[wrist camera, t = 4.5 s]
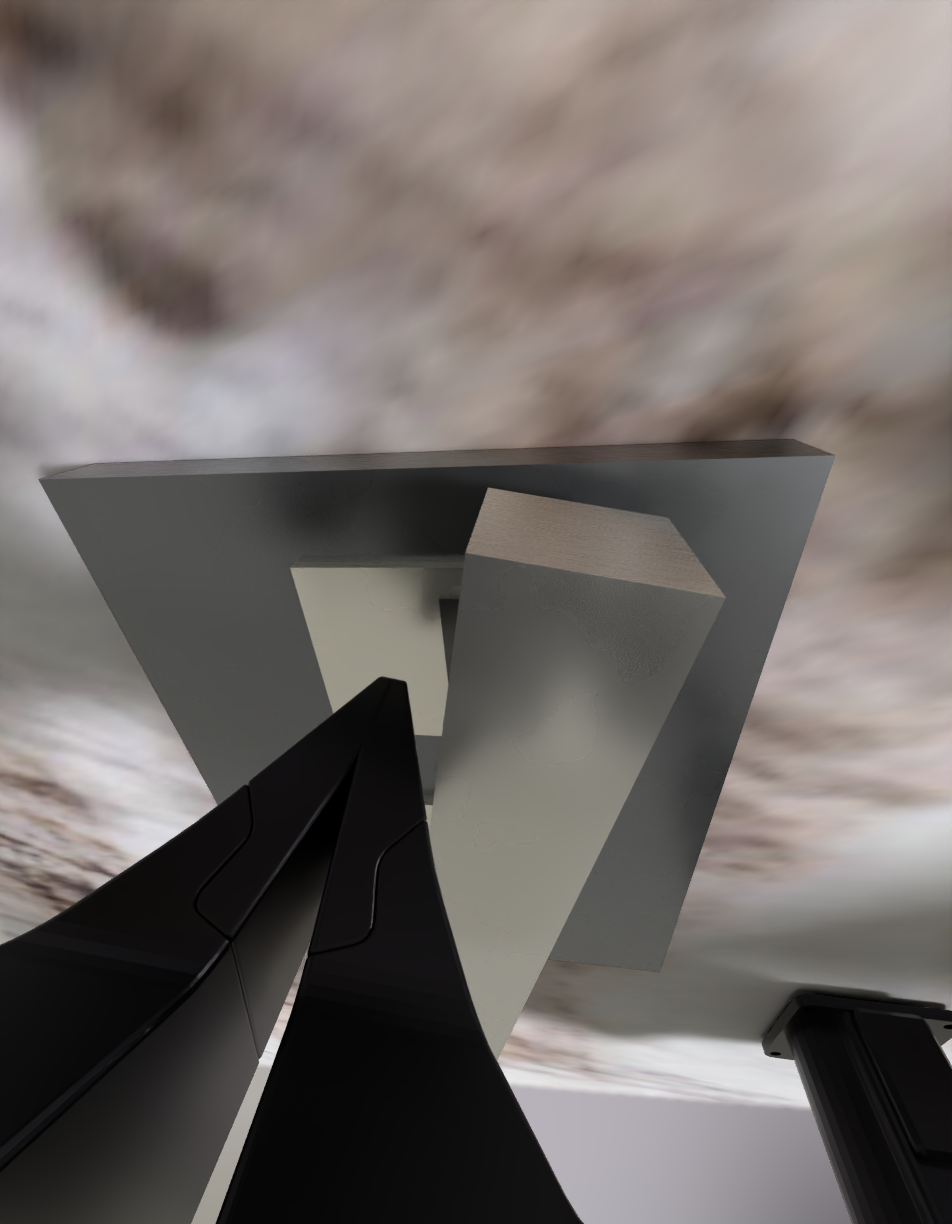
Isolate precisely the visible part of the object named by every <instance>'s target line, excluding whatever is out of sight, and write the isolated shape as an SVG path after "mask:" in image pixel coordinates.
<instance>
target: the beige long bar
mask: <svg viewBox="0 0 952 1224" xmlns="http://www.w3.org/2000/svg"><path fill="white" fill-rule="evenodd" d="M725 599H726V597H725V596H724V594H723V593H722V592H721V590H720V589H719V587H718V586H717V585H716V583H715V582H714V581H713V579H712V578H711V576H710V575H709V574H708V572H707V571H706V569H705V568H704V567H703V565H702V564H701V563H700V561H699V560H698V558H697V557H696V556H695V554H694V553H693V551H692V550H691V549H690V547H689V546H688V545H687V543H686V542H685V540H684V539H683V538H682V536H681V535H680V533H679V532H678V531H677V529H676V528H675V526H674V525H673V524H672V522H671V521H670V520H669V518H667V517H661V516H655V515H649V514H643V513H637V512H631V511H625V510H619V509H613V508H607V507H601V506H595V505H589V504H583V503H577V502H571V501H565V500H559V499H553V498H547V497H541V496H535V495H529V494H523V493H517V492H511V491H505V490H499V489H493V488H488V489H487V492H486V495H485V498H484V501H483V504H482V507H481V509H480V512H479V515H478V518H477V521H476V524H475V527H474V529H473V532H472V535H471V538H470V541H469V544H468V547H467V549H466V552H465V559H464V567H463V574H462V582H461V590H460V598H459V605H458V613H457V621H456V629H455V637H454V644H453V652H452V660H451V668H450V675H449V683H448V691H447V699H446V706H445V714H444V722H443V730H442V738H441V745H440V753H439V761H438V769H437V776H436V784H435V792H434V800H433V807H432V815H431V823H430V831H429V835H430V841H431V847H432V852H433V858H434V863H435V869H436V873H437V877H438V881H439V885H440V889H441V893H442V897H443V901H444V905H445V908H446V912H447V915H448V919H449V922H450V926H451V929H452V933H453V936H454V940H455V943H456V947H457V950H458V954H459V957H460V961H461V964H462V967H463V971H464V974H465V978H466V981H467V985H468V988H469V991H470V994H471V998H472V1001H473V1004H474V1007H475V1010H476V1013H477V1016H478V1019H479V1021H480V1024H481V1026H482V1029H483V1032H484V1034H485V1037H486V1039H487V1041H488V1044H489V1046H490V1048H491V1050H492V1052H493V1054H494V1056H495V1058H496V1060H498V1058H499V1056H500V1054H501V1052H502V1050H503V1048H504V1046H505V1044H506V1042H507V1040H508V1038H509V1036H510V1034H511V1031H512V1029H513V1027H514V1025H515V1023H516V1021H517V1019H518V1017H519V1015H520V1013H521V1011H522V1009H523V1007H524V1005H525V1003H526V1001H527V999H528V997H529V995H530V993H531V991H532V989H533V987H534V985H535V983H536V981H537V979H538V977H539V975H540V973H541V971H542V969H543V967H544V965H545V963H546V961H547V959H548V957H549V955H550V953H551V951H552V949H553V947H554V945H555V943H556V940H557V938H558V936H559V934H560V932H561V930H562V928H563V926H564V924H565V922H566V920H567V918H568V916H569V914H570V912H571V910H572V908H573V906H574V904H575V902H576V900H577V898H578V896H579V894H580V892H581V890H582V888H583V886H584V884H585V882H586V880H587V878H588V876H589V874H590V872H591V870H592V868H593V866H594V864H595V862H596V860H597V858H598V856H599V854H600V851H601V849H602V847H603V845H604V843H605V841H606V839H607V837H608V835H609V833H610V831H611V829H612V827H613V825H614V823H615V821H616V819H617V817H618V815H619V813H620V811H621V809H622V807H623V805H624V803H625V801H626V799H627V797H628V795H629V793H630V791H631V789H632V787H633V785H634V783H635V781H636V779H637V777H638V775H639V773H640V771H641V769H642V767H643V765H644V762H645V760H646V758H647V756H648V754H649V752H650V750H651V748H652V746H653V744H654V742H655V740H656V738H657V736H658V734H659V732H660V730H661V728H662V726H663V724H664V722H665V720H666V718H667V716H668V714H669V712H670V710H671V708H672V706H673V704H674V702H675V700H676V698H677V696H678V694H679V692H680V690H681V688H682V686H683V684H684V682H685V680H686V678H687V676H688V673H689V671H690V669H691V667H692V665H693V663H694V661H695V659H696V657H697V655H698V653H699V651H700V649H701V647H702V645H703V643H704V641H705V639H706V637H707V635H708V633H709V631H710V629H711V627H712V625H713V623H714V621H715V619H716V617H717V615H718V613H719V611H720V609H721V607H722V605H723V603H724V601H725Z"/></svg>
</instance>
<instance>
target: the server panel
mask: <svg viewBox="0 0 952 1224" xmlns="http://www.w3.org/2000/svg"><path fill="white" fill-rule="evenodd" d="M834 457H835V455H833V454H830V453H828V452H825V451H823V450H820V449H818V448H815V447H813V446H810V445H807V444H805V443H802V442H800V441H797V440H795V439H782V440H753V441H725V442H696V443H668V444H639V445H610V446H582V447H553V448H525V449H496V450H467V451H439V452H410V453H382V454H353V455H325V456H296V457H267V458H239V459H210V460H182V461H153V462H125V463H96V464H92V465H89V466H85V467H81V468H78V469H74V470H71V471H67V472H63V473H60V474H56V475H53V476H49V477H45V478H42V479H39V481H40V483H41V485H42V487H43V488H44V490H45V492H46V494H47V496H48V497H49V499H50V501H51V503H52V505H53V507H54V508H55V510H56V512H57V514H58V516H59V517H60V519H61V521H62V523H63V525H64V527H65V528H66V530H67V532H68V534H69V536H70V537H71V539H72V541H73V543H74V545H75V546H76V548H77V550H78V552H79V554H80V556H81V557H82V559H83V561H84V563H85V565H86V566H87V568H88V570H89V572H90V574H91V575H92V577H93V579H94V581H95V583H96V585H97V586H98V588H99V590H100V592H101V594H102V595H103V597H104V599H105V601H106V603H107V605H108V606H109V608H110V610H111V612H112V614H113V615H114V617H115V619H116V621H117V623H118V624H119V626H120V628H121V630H122V632H123V634H124V635H125V637H126V639H127V641H128V643H129V644H130V646H131V648H132V650H133V652H134V654H135V655H136V657H137V659H138V661H139V663H140V664H141V666H142V668H143V670H144V672H145V673H146V675H147V677H148V679H149V681H150V683H151V684H152V686H153V688H154V690H155V692H156V693H157V695H158V697H159V699H160V701H161V702H162V704H163V706H164V708H165V710H166V712H167V713H168V715H169V717H170V719H171V721H172V722H173V724H174V726H175V728H176V730H177V732H178V733H179V735H180V737H181V739H182V741H183V742H184V744H185V746H186V748H187V750H188V751H189V753H190V755H191V757H192V759H193V761H194V762H195V764H196V766H197V768H198V770H199V771H200V773H201V775H202V777H203V779H204V781H205V782H206V784H207V786H208V788H209V790H210V791H211V793H212V795H213V797H214V799H215V800H216V802H217V804H218V805H219V804H220V803H222V802H223V801H224V800H226V799H227V798H228V797H230V796H231V795H232V794H233V793H234V792H236V791H237V790H238V789H239V788H241V787H242V786H243V785H245V784H246V785H248V782H249V781H250V780H251V779H252V778H254V777H255V776H256V775H257V774H259V773H260V772H261V771H262V770H264V769H265V768H266V767H267V766H268V765H270V764H271V763H272V762H273V761H275V760H276V759H277V758H278V757H280V756H281V755H282V754H283V753H285V752H286V751H287V750H288V749H290V748H291V747H292V746H293V745H295V744H296V743H297V742H298V741H300V740H301V739H302V738H303V737H305V736H306V735H307V734H308V733H310V732H311V731H312V730H313V729H315V728H316V727H317V726H318V725H320V724H321V723H322V722H323V721H325V720H326V719H327V718H328V717H330V716H331V715H332V714H333V713H335V712H336V711H337V710H338V709H340V708H341V707H342V706H343V705H345V704H346V703H347V702H348V701H350V700H351V699H352V698H353V697H355V696H356V695H357V694H358V693H360V692H361V691H362V690H363V689H365V688H366V687H367V686H368V685H370V684H371V683H372V682H373V681H375V680H376V679H377V678H378V677H381V676H384V677H389V678H394V679H398V680H403V681H406V683H407V686H408V693H409V700H410V706H411V713H412V720H413V727H414V734H415V740H416V747H417V754H418V761H419V768H420V775H421V781H422V788H423V795H424V802H425V809H426V816H427V820H426V821H427V822H428V828H429V831H430V823H431V815H432V807H433V800H434V792H435V784H436V776H437V769H438V761H439V753H440V745H441V738H442V730H443V722H444V714H445V706H446V699H447V691H448V683H449V675H450V668H451V660H452V652H453V644H454V637H455V629H456V621H457V613H458V605H459V598H460V590H461V582H462V574H463V567H464V559H465V552H466V549H467V547H468V544H469V541H470V538H471V535H472V532H473V529H474V527H475V524H476V521H477V518H478V515H479V512H480V509H481V507H482V504H483V501H484V498H485V495H486V492H487V489H488V488H493V489H499V490H505V491H511V492H517V493H523V494H529V495H535V496H541V497H547V498H553V499H559V500H565V501H571V502H577V503H583V504H589V505H595V506H601V507H607V508H613V509H619V510H625V511H631V512H637V513H643V514H649V515H655V516H661V517H667V518H669V520H670V521H671V522H672V524H673V525H674V526H675V528H676V529H677V531H678V532H679V533H680V535H681V536H682V538H683V539H684V540H685V542H686V543H687V545H688V546H689V547H690V549H691V550H692V551H693V553H694V554H695V556H696V557H697V558H698V560H699V561H700V563H701V564H702V565H703V567H704V568H705V569H706V571H707V572H708V574H709V575H710V576H711V578H712V579H713V581H714V582H715V583H716V585H717V586H718V587H719V589H720V590H721V592H722V593H723V594H724V596H725V597H726V599H725V601H724V603H723V605H722V607H721V609H720V611H719V613H718V615H717V617H716V619H715V621H714V623H713V625H712V627H711V629H710V631H709V633H708V635H707V637H706V639H705V641H704V643H703V645H702V647H701V649H700V651H699V653H698V655H697V657H696V659H695V661H694V663H693V665H692V667H691V669H690V671H689V673H688V676H687V678H686V680H685V682H684V684H683V686H682V688H681V690H680V692H679V694H678V696H677V698H676V700H675V702H674V704H673V706H672V708H671V710H670V712H669V714H668V716H667V718H666V720H665V722H664V724H663V726H662V728H661V730H660V732H659V734H658V736H657V738H656V740H655V742H654V744H653V746H652V748H651V750H650V752H649V754H648V756H647V758H646V760H645V762H644V765H643V767H642V769H641V771H640V773H639V775H638V777H637V779H636V781H635V783H634V785H633V787H632V789H631V791H630V793H629V795H628V797H627V799H626V801H625V803H624V805H623V807H622V809H621V811H620V813H619V815H618V817H617V819H616V821H615V823H614V825H613V827H612V829H611V831H610V833H609V835H608V837H607V839H606V841H605V843H604V845H603V847H602V849H601V851H600V854H599V856H598V858H597V860H596V862H595V864H594V866H593V868H592V870H591V872H590V874H589V876H588V878H587V880H586V882H585V884H584V886H583V888H582V890H581V892H580V894H579V896H578V898H577V900H576V902H575V904H574V906H573V908H572V910H571V912H570V914H569V916H568V918H567V920H566V922H565V924H564V926H563V928H562V930H561V932H560V934H559V936H558V938H557V940H556V943H555V945H554V947H553V949H552V951H551V953H550V955H549V957H548V959H550V960H559V961H568V962H576V963H585V964H594V965H603V966H611V967H620V968H629V969H637V970H646V971H655V972H660V969H661V966H662V963H663V960H664V957H665V954H666V951H667V948H668V946H669V943H670V940H671V937H672V934H673V931H674V928H675V925H676V922H677V919H678V916H679V913H680V910H681V907H682V904H683V901H684V898H685V896H686V893H687V890H688V887H689V884H690V881H691V878H692V875H693V872H694V869H695V866H696V863H697V860H698V857H699V854H700V851H701V849H702V846H703V843H704V840H705V837H706V834H707V831H708V828H709V825H710V822H711V819H712V816H713V813H714V810H715V807H716V804H717V801H718V799H719V796H720V793H721V790H722V787H723V784H724V781H725V778H726V775H727V772H728V769H729V766H730V763H731V760H732V757H733V754H734V751H735V749H736V746H737V743H738V740H739V737H740V734H741V731H742V728H743V725H744V722H745V719H746V716H747V713H748V710H749V707H750V704H751V701H752V699H753V696H754V693H755V690H756V687H757V684H758V681H759V678H760V675H761V672H762V669H763V666H764V663H765V660H766V657H767V654H768V651H769V649H770V646H771V643H772V640H773V637H774V634H775V631H776V628H777V625H778V622H779V619H780V616H781V613H782V610H783V607H784V604H785V602H786V599H787V596H788V593H789V590H790V587H791V584H792V581H793V578H794V575H795V572H796V569H797V566H798V563H799V560H800V557H801V554H802V552H803V549H804V546H805V543H806V540H807V537H808V534H809V531H810V528H811V525H812V522H813V519H814V516H815V513H816V510H817V507H818V504H819V502H820V499H821V496H822V493H823V490H824V487H825V484H826V481H827V478H828V475H829V472H830V469H831V466H832V463H833V460H834Z"/></svg>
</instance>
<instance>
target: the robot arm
mask: <svg viewBox="0 0 952 1224" xmlns="http://www.w3.org/2000/svg"><path fill="white" fill-rule="evenodd" d="M426 820H427V816H426V809H425V802H424V795H423V788H422V781H421V775H420V768H419V761H418V754H417V747H416V740H415V734H414V727H413V720H412V713H411V706H410V700H409V693H408V686H407V683H406V681H403V680H398V679H394V678H389V677H384V676H381V677H378V678H377V679H376V680H375V681H373V682H372V683H371V684H370V685H368V686H367V687H366V688H365V689H363V690H362V691H361V692H360V693H358V694H357V695H356V696H355V697H353V698H352V699H351V700H350V701H348V702H347V703H346V704H345V705H343V706H342V707H341V708H340V709H338V710H337V711H336V712H335V713H333V714H332V715H331V716H330V717H328V718H327V719H326V720H325V721H323V722H322V723H321V724H320V725H318V726H317V727H316V728H315V729H313V730H312V731H311V732H310V733H308V734H307V735H306V736H305V737H303V738H302V739H301V740H300V741H298V742H297V743H296V744H295V745H293V746H292V747H291V748H290V749H288V750H287V751H286V752H285V753H283V754H282V755H281V756H280V757H278V758H277V759H276V760H275V761H273V762H272V763H271V764H270V765H268V766H267V767H266V768H265V769H264V770H262V771H261V772H260V773H259V774H257V775H256V776H255V777H254V778H252V779H251V780H250V781H249V782H248V785H246V784H245V785H243V786H242V787H241V788H239V789H238V790H237V791H236V792H234V793H233V794H232V795H231V796H230V797H228V798H227V799H226V800H224V801H223V802H222V803H220V804H219V805H218V806H217V807H215V808H214V809H213V810H211V811H210V812H209V813H207V814H206V815H205V816H203V817H202V818H201V819H199V820H198V821H197V822H195V823H194V824H193V825H191V826H190V827H188V828H187V829H185V830H184V831H182V832H181V833H180V834H178V835H177V836H175V837H174V838H172V839H171V840H169V841H168V842H167V843H165V844H164V845H162V846H161V847H159V848H158V849H156V850H155V851H153V852H152V853H150V854H149V855H147V856H146V857H144V858H143V859H141V860H140V861H138V862H137V863H135V864H134V865H132V866H131V867H129V868H128V869H126V870H125V871H123V872H122V873H120V874H119V875H117V876H116V877H114V878H113V879H111V880H110V881H108V882H107V883H105V884H104V885H102V886H101V887H99V888H98V889H96V890H95V891H93V892H92V893H90V894H89V895H87V896H86V897H84V898H83V899H81V900H80V901H78V902H77V903H75V904H74V905H72V906H71V907H69V908H68V909H66V910H64V911H63V912H61V913H60V914H58V915H56V916H55V917H53V918H52V919H50V920H48V921H46V922H45V923H43V924H41V925H39V926H38V927H36V928H34V929H32V930H30V931H28V932H26V933H24V934H22V935H20V936H18V937H16V938H14V939H12V940H10V941H8V942H6V943H3V944H1V945H0V1224H191V1222H192V1220H193V1217H194V1215H195V1213H196V1210H197V1208H198V1206H199V1203H200V1201H201V1199H202V1196H203V1194H204V1192H205V1189H206V1187H207V1184H208V1182H209V1180H210V1177H211V1175H212V1173H213V1170H214V1168H215V1166H216V1163H217V1161H218V1158H219V1156H220V1154H221V1151H222V1149H223V1146H224V1144H225V1142H226V1140H227V1137H228V1135H229V1132H230V1130H231V1128H232V1125H233V1123H234V1121H235V1118H236V1116H237V1114H238V1111H239V1109H240V1106H241V1104H242V1102H243V1099H244V1097H245V1094H246V1092H247V1090H248V1087H249V1085H250V1083H251V1080H252V1078H253V1076H254V1073H255V1071H256V1069H257V1066H258V1064H259V1059H260V1058H261V1056H262V1054H263V1052H264V1049H265V1047H266V1045H267V1042H268V1040H269V1037H270V1035H271V1033H272V1030H273V1028H274V1026H275V1023H276V1021H277V1018H278V1016H279V1014H280V1011H281V1009H282V1007H283V1004H284V1002H285V1000H286V997H287V995H288V992H289V990H290V988H291V985H292V983H293V981H294V978H295V976H296V973H297V971H298V969H299V966H300V964H301V962H302V959H303V957H304V955H305V952H306V950H307V947H308V945H309V943H310V946H309V950H308V955H307V956H308V958H307V959H306V962H305V966H304V970H303V973H302V977H301V981H300V985H299V988H298V991H297V995H296V998H295V1002H294V1005H293V1008H292V1011H291V1014H290V1017H289V1020H288V1023H287V1026H286V1029H285V1032H284V1034H283V1037H282V1040H281V1043H280V1046H279V1048H278V1051H277V1054H276V1057H275V1060H274V1062H273V1065H272V1068H271V1071H270V1074H269V1076H268V1079H267V1082H266V1085H265V1087H264V1091H263V1093H262V1096H261V1099H260V1101H259V1104H258V1107H257V1110H256V1113H255V1116H254V1118H253V1121H252V1124H251V1127H250V1129H249V1132H248V1135H247V1138H246V1140H245V1143H244V1146H243V1149H242V1152H241V1154H240V1157H239V1160H238V1163H237V1166H236V1168H235V1171H234V1174H233V1177H232V1180H231V1182H230V1185H229V1188H228V1191H227V1193H226V1196H225V1199H224V1202H223V1205H222V1207H221V1210H220V1213H219V1216H218V1219H217V1221H216V1224H584V1223H583V1222H582V1221H581V1220H580V1218H579V1217H578V1215H577V1213H576V1212H575V1210H574V1208H573V1207H572V1205H571V1204H570V1202H569V1200H568V1199H567V1197H566V1195H565V1193H564V1191H563V1190H562V1188H561V1185H560V1184H559V1182H558V1180H557V1178H556V1176H555V1174H554V1172H553V1170H552V1168H551V1166H550V1164H549V1162H548V1160H547V1158H546V1156H545V1154H544V1152H543V1150H542V1148H541V1146H540V1144H539V1142H538V1140H537V1138H536V1137H535V1134H534V1132H533V1131H532V1129H531V1127H530V1125H529V1123H528V1121H527V1119H526V1117H525V1115H524V1113H523V1111H522V1109H521V1107H520V1105H519V1103H518V1101H517V1099H516V1097H515V1095H514V1093H513V1091H512V1089H511V1087H510V1085H509V1083H508V1081H507V1080H506V1078H505V1076H504V1074H503V1072H502V1070H501V1068H500V1066H499V1064H498V1062H497V1060H496V1058H495V1056H494V1054H493V1052H492V1050H491V1048H490V1046H489V1044H488V1041H487V1039H486V1037H485V1034H484V1032H483V1029H482V1026H481V1024H480V1021H479V1019H478V1016H477V1013H476V1010H475V1007H474V1004H473V1001H472V998H471V994H470V991H469V988H468V985H467V981H466V978H465V974H464V971H463V967H462V964H461V961H460V957H459V954H458V950H457V947H456V943H455V940H454V936H453V933H452V929H451V926H450V922H449V919H448V915H447V912H446V908H445V905H444V901H443V897H442V893H441V889H440V885H439V881H438V877H437V873H436V869H435V863H434V858H433V852H432V847H431V841H430V835H429V828H428V822H427V821H426ZM310 940H311V942H310ZM951 1038H952V1011H950V1010H941V1009H933V1008H924V1007H915V1006H907V1005H898V1004H890V1003H881V1002H872V1001H864V1000H855V999H847V998H838V997H829V996H821V995H812V994H801V995H797V996H796V997H794V998H793V1000H792V1001H791V1003H790V1004H789V1005H788V1007H787V1008H786V1009H785V1011H784V1012H783V1013H782V1015H781V1016H780V1018H779V1019H778V1020H777V1022H776V1023H775V1024H774V1026H773V1027H772V1029H771V1030H770V1031H769V1033H768V1034H767V1035H766V1037H765V1038H764V1039H763V1041H762V1047H763V1050H764V1053H765V1055H767V1056H769V1057H775V1058H782V1059H789V1060H794V1061H795V1064H796V1067H797V1069H798V1072H799V1075H800V1078H801V1081H802V1084H803V1086H804V1089H805V1092H806V1095H807V1098H808V1101H809V1103H810V1106H811V1109H812V1112H813V1115H814V1117H815V1120H816V1123H817V1126H818V1129H819V1131H820V1134H821V1137H822V1140H823V1143H824V1146H825V1149H826V1151H827V1154H828V1157H829V1160H830V1163H831V1166H832V1168H833V1171H834V1174H835V1177H836V1180H837V1182H838V1185H839V1188H840V1191H841V1194H842V1197H843V1199H844V1202H845V1205H846V1208H847V1211H848V1214H849V1217H850V1219H851V1222H852V1224H952V1065H951V1063H950V1062H949V1060H948V1058H947V1056H946V1055H945V1053H944V1051H943V1049H942V1048H941V1046H942V1045H943V1044H944V1043H946V1042H947V1041H948V1040H950V1039H951Z"/></svg>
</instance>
